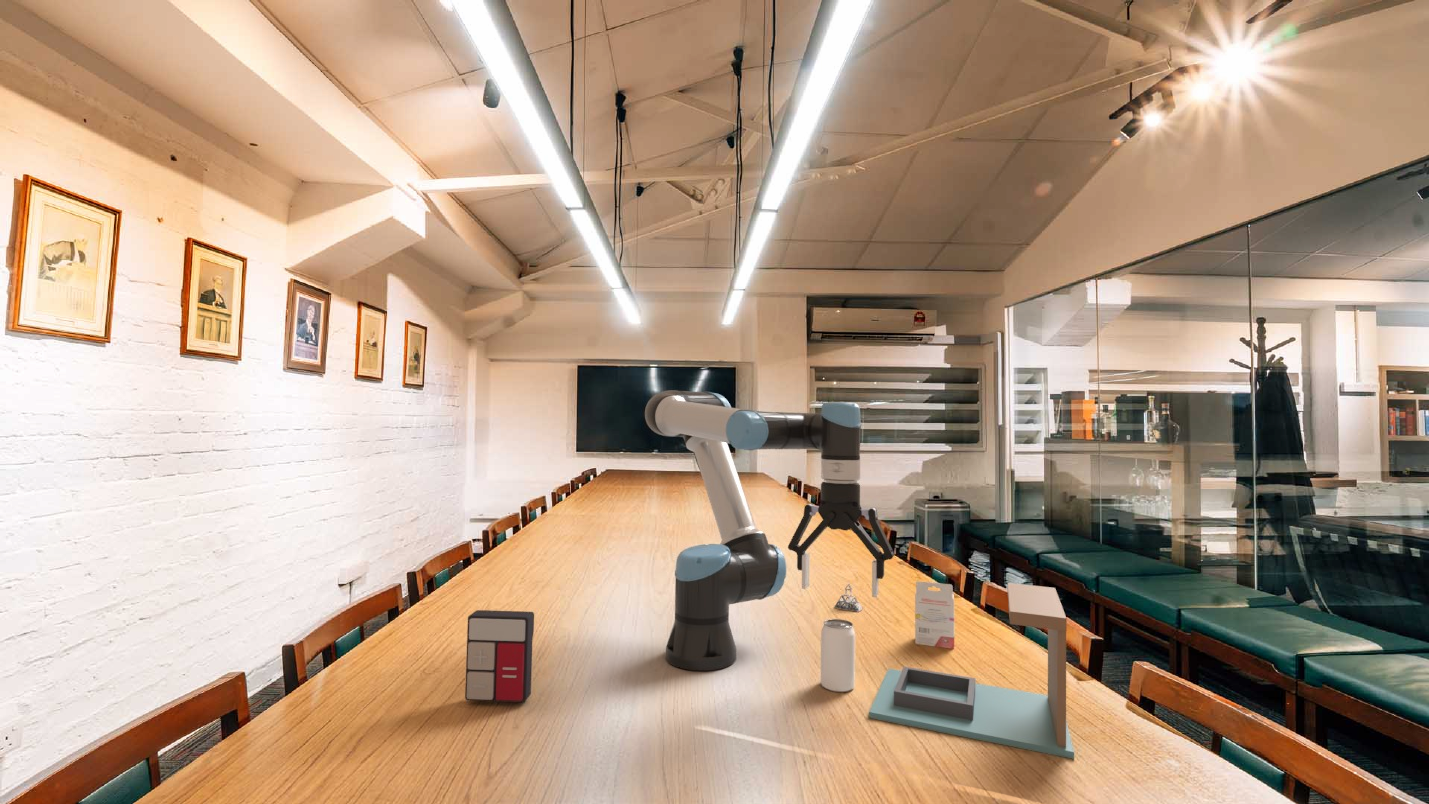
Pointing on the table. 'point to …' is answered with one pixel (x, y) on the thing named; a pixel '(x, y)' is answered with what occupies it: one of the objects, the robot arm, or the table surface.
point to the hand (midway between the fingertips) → (839, 591)
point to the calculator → (499, 656)
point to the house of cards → (848, 602)
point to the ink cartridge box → (934, 615)
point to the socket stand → (990, 690)
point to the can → (838, 655)
